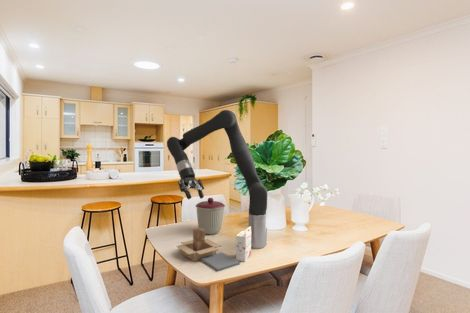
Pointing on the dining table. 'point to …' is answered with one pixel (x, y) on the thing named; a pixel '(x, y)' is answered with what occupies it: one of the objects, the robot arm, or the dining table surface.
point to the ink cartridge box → (243, 245)
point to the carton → (196, 255)
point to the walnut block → (198, 239)
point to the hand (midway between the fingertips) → (196, 198)
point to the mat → (219, 261)
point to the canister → (210, 216)
